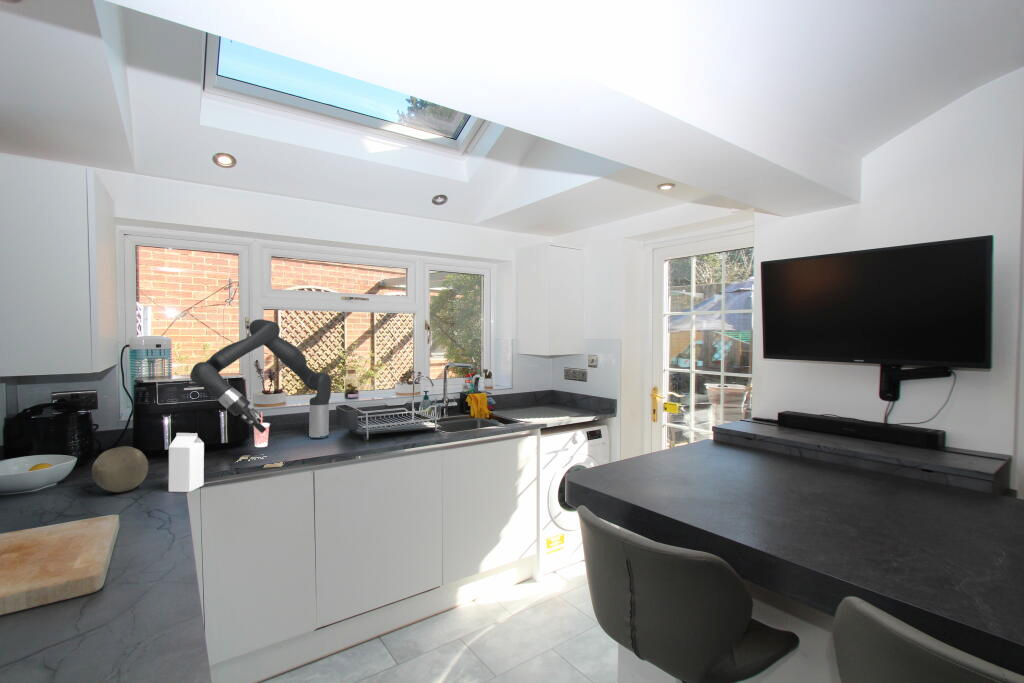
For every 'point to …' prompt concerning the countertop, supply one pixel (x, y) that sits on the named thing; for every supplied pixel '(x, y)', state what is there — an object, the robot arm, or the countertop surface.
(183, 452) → the milk carton
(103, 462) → the cantaloupe
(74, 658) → the countertop surface
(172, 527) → the countertop surface
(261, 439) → the beverage cup
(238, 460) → the oak board
